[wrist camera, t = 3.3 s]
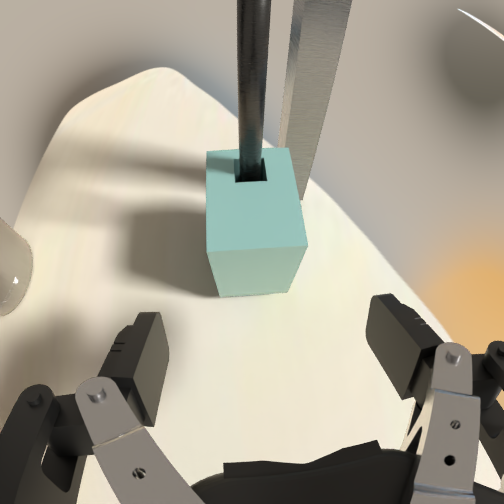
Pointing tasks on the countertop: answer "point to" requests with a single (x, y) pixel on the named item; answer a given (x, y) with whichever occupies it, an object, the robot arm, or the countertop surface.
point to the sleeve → (253, 224)
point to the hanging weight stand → (288, 80)
